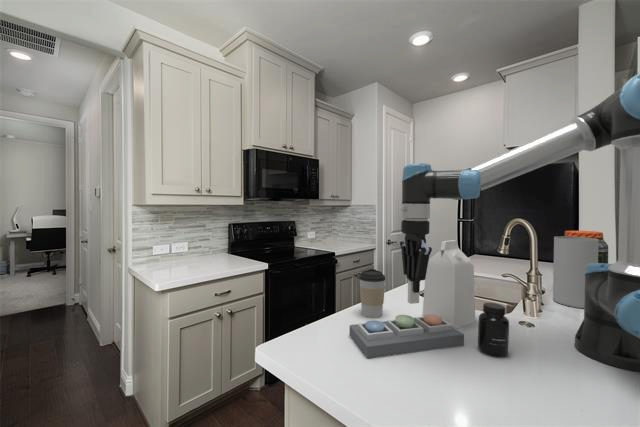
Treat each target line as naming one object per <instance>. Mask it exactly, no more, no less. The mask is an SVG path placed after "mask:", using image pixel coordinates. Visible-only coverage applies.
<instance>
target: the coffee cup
mask: <svg viewBox="0 0 640 427" xmlns="http://www.w3.org/2000/svg"><path fill="white" fill-rule="evenodd" d="M358 276H359V277H358V279H359V295H360V303H361V304H360V305H361V315H362V316H363V317H366V318H371V319H377V318H381V317H382V316H383V309H384V306H383V305H384V303H385V302H384V301H385V290H386V286H385V282H386V275H385V274H383V272H382V271H379V270H376V268H375V269H373V268H369V269H366V270H363V271H362V272H361V273H360V274H359V275H358Z"/></svg>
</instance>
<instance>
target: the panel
mask: <svg viewBox="0 0 640 427" xmlns="http://www.w3.org/2000/svg"><path fill="white" fill-rule="evenodd" d="M413 318H414V326H413V327H410V328H404V327H400V326H398V325H396V323H395V319H388V320H386V321H381V320H379V321H380V322H382V323H384V332H377V333H369V332H368V331H367V330H366V322H362V323H361V322H360V323H357V324H350V325H349V337H350V336H351V337H350V338H351V339H352V341H353V340H354V341H353V342H354V343H355V345H356V344H357V345H356V346H357V347H358V348H359V350H360V351H361V352H362V354H363V355H364V357H366V359H367V360H368V359H374V358H382V357H388V355H390V356H395V355H394V354H397V355H402V354H403V353H404V354H410V353H416V352H417V353H418V352H426V351H432V350H433V351H434V350H439V349H444V348H445V349H446V348H452V347H453V348H455V347H459V346H465V334H464V333H463V332H461V331H460V330H458V329H455V328H453V327H452V324H450V323H448V322H447V321H445V320H443V319H442V325H437V326H429V325H428V324H426V323H425V322H424V317H422V316H417V317H416V316H415V317H413Z"/></svg>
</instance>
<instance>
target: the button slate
mask: <svg viewBox="0 0 640 427" xmlns="http://www.w3.org/2000/svg"><path fill="white" fill-rule="evenodd" d="M380 321H381V320H375V319H373V320H372V319H371V320H368V321H366V322H365V323H366V330H367V331H368V332H369V333H377V332H384V323H382V322H383V321H382V322H380Z"/></svg>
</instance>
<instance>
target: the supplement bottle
mask: <svg viewBox="0 0 640 427" xmlns="http://www.w3.org/2000/svg"><path fill="white" fill-rule="evenodd" d="M482 307H483V308H482V311H483V312H481V313H480V314H479V315H478V322H477V323H478V324H477V325H478V326H477V328H478V329H477V347H478V350H479V351H481V353H483V354H485V355H487V356H490V357H494V358H505V357H507V356H508V354H509V343H510V342H509V339H510V320H509V319H508V318H507V316H505V315H506V307H505V306H504V305H502V304H500V303H496V302H495V303H494V302H485V303H484V302H483V306H482Z"/></svg>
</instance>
